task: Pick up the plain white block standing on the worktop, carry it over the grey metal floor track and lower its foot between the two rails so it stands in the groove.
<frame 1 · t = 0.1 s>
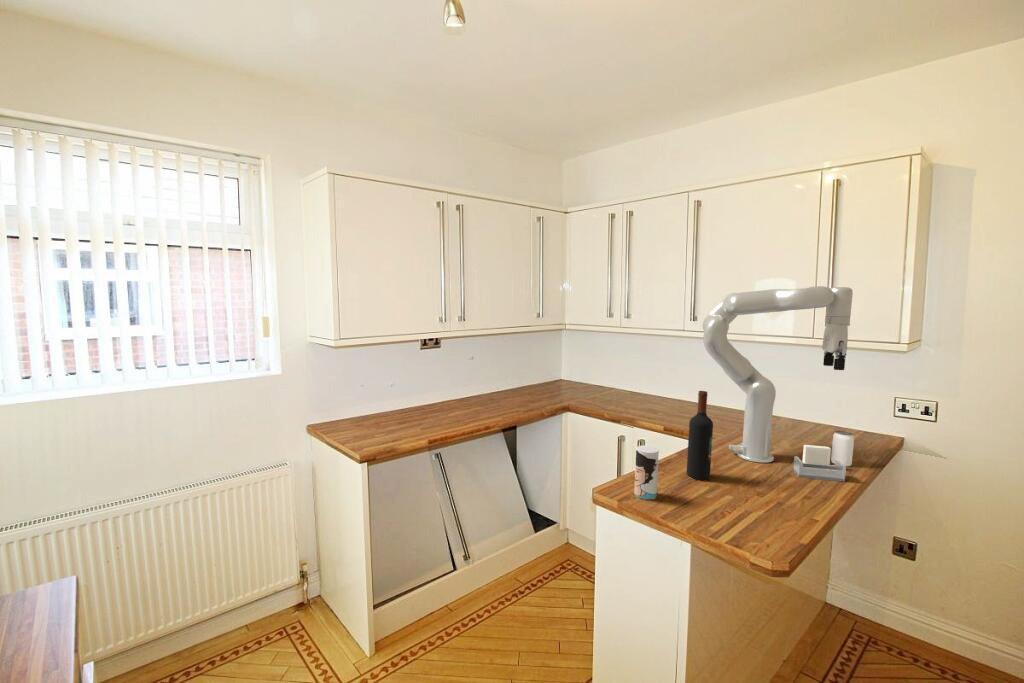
hand: (833, 367, 175), 37 cm above the worktop, tool pointing down, fingers open, 9 cm apart
track: (818, 476, 167), on the worktop
cup: (645, 496, 150), on the worktop
can: (840, 464, 180), on the worktop
wine bottle: (697, 477, 165), on the worktop
plain white block: (815, 467, 175), on the worktop
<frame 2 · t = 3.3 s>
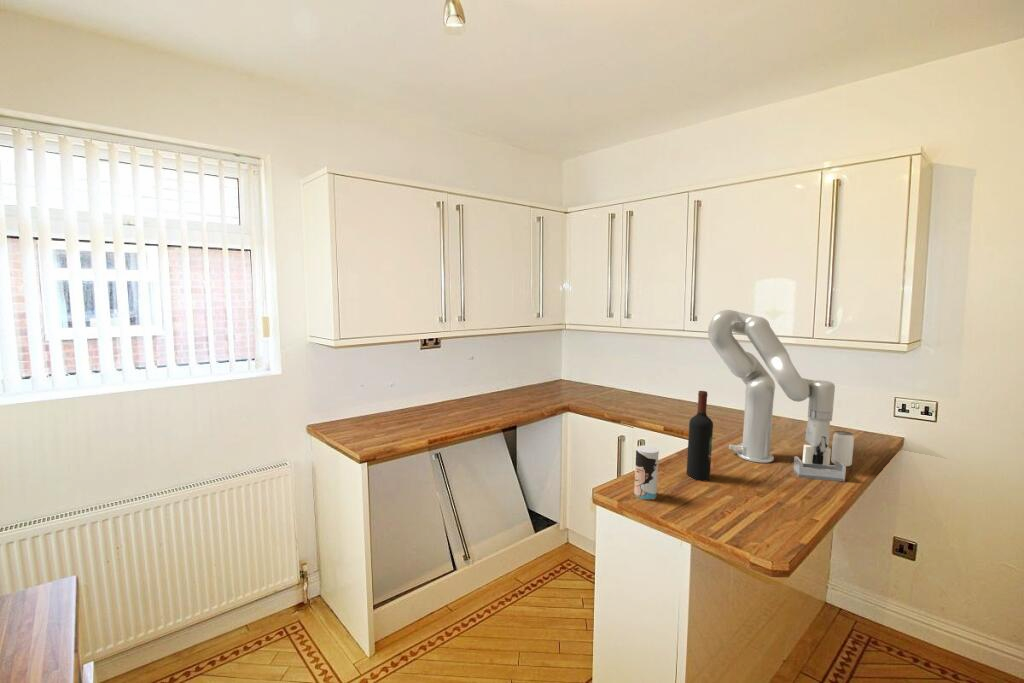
hand: (815, 463, 175), 2 cm above the worktop, tool pointing down, fingers closed on plain white block, 2 cm apart
plain white block: (815, 467, 175), on the worktop, touching gripper
everything else where it was.
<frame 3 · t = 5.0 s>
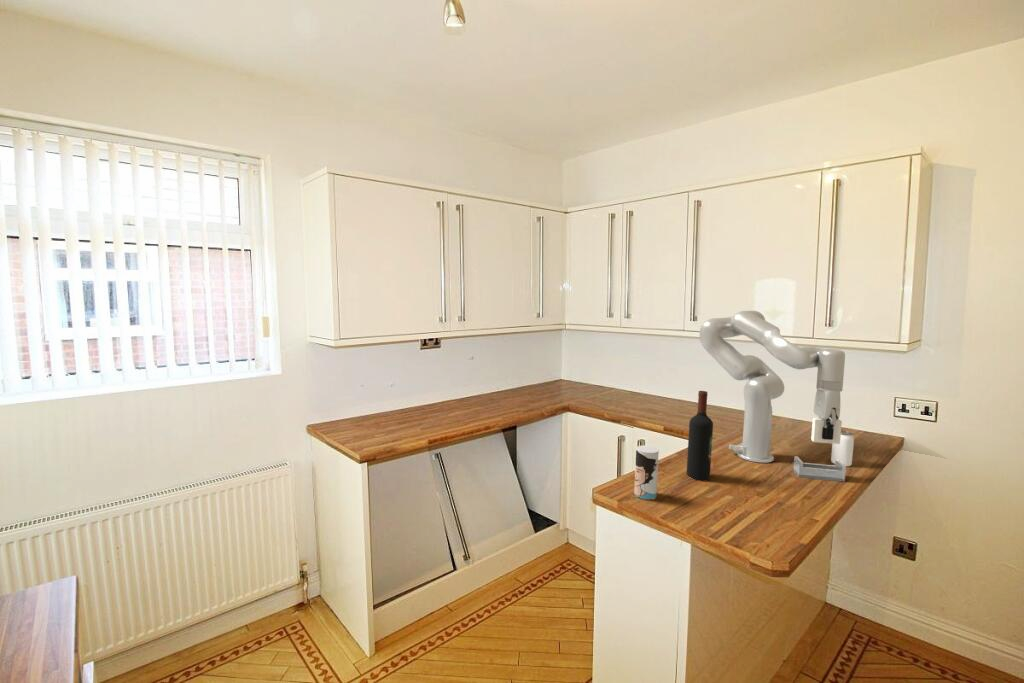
hand: (825, 437, 165), 14 cm above the worktop, tool pointing down, fingers closed on plain white block, 2 cm apart
plain white block: (825, 441, 166), point 12 cm above the worktop, touching gripper
everything else where it was.
when the fingers open (4 cm above the worktop, at t = 6.6 s): plain white block drops 2 cm, resting on track.
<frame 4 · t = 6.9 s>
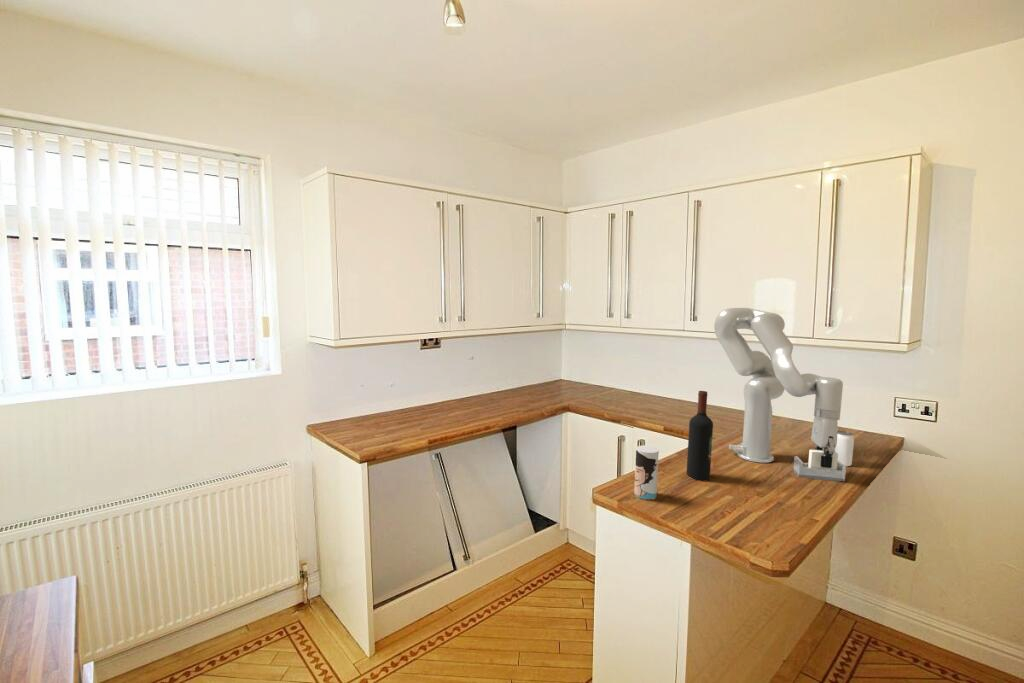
hand: (822, 463, 166), 5 cm above the worktop, tool pointing down, fingers open, 5 cm apart
plain white block: (821, 473, 167), point 1 cm above the worktop, touching track
everything else where it was.
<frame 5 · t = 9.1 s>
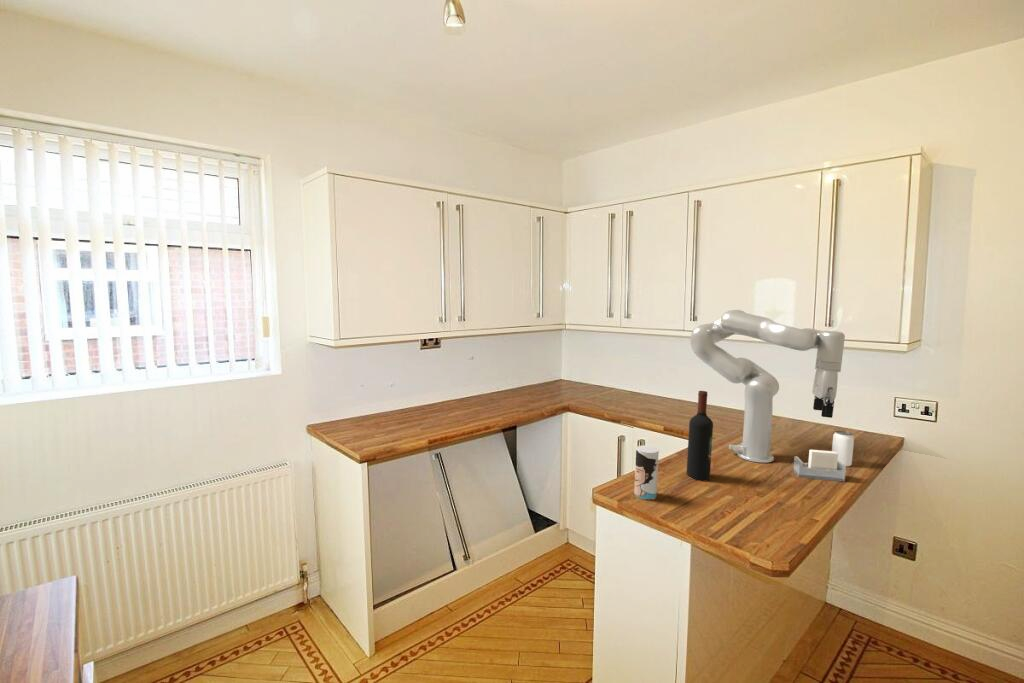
hand: (822, 413, 170), 21 cm above the worktop, tool pointing down, fingers open, 9 cm apart
nothing on the worktop moved.
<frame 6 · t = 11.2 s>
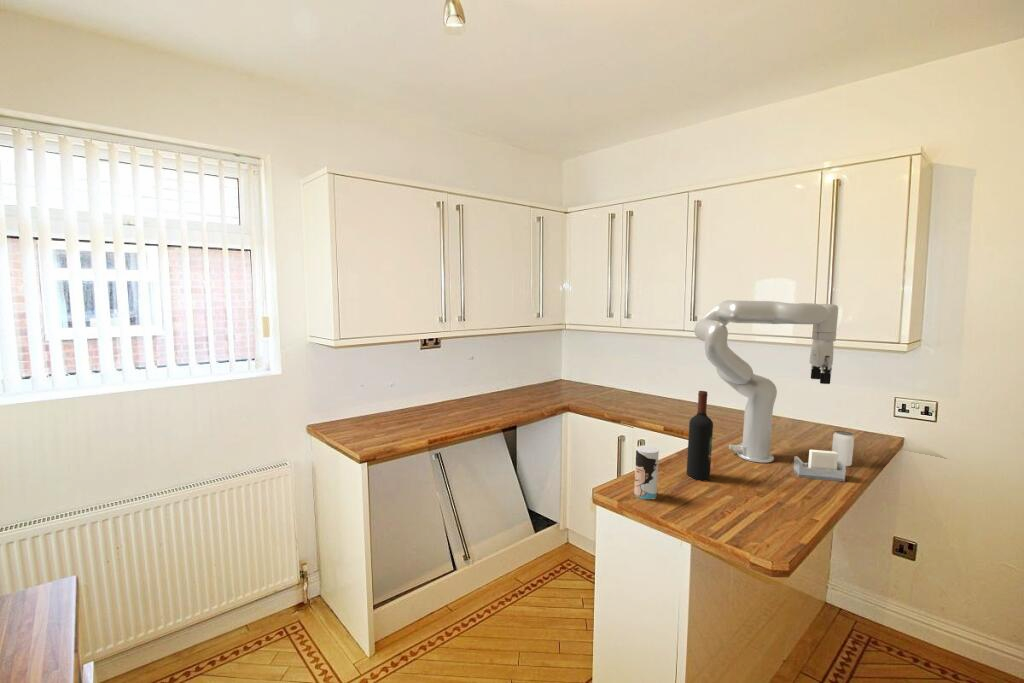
hand: (820, 381, 182), 30 cm above the worktop, tool pointing down, fingers open, 9 cm apart
nothing on the worktop moved.
at the end: plain white block inside the target area on the track (1.0 cm from its centre), point 1.0 cm above the track's base; plain white block tilted 0°; the gripper is holding nothing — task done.
